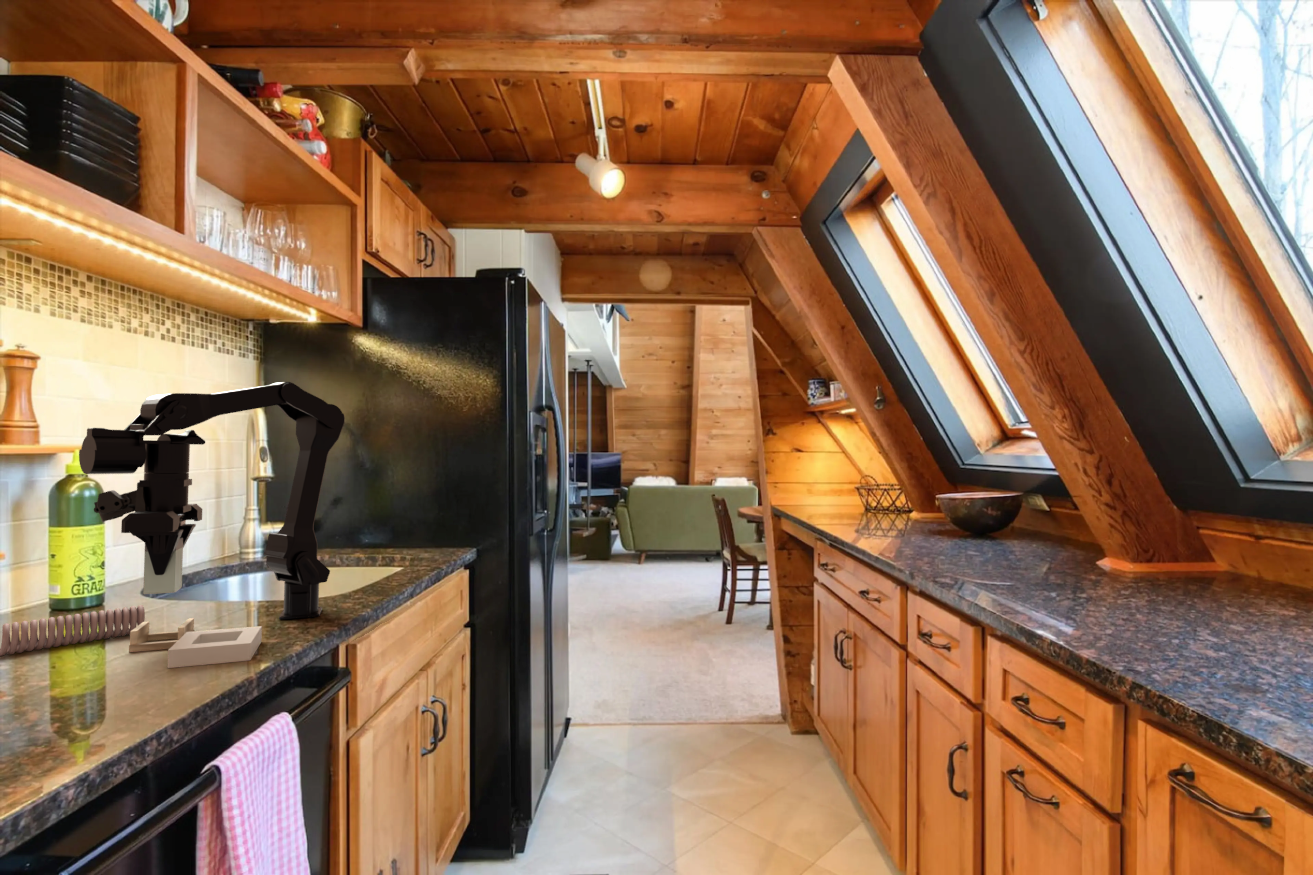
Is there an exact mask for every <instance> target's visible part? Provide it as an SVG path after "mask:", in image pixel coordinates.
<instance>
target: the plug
mask: <svg viewBox="0 0 1313 875" xmlns="http://www.w3.org/2000/svg"><path fill="white" fill-rule="evenodd" d="M183 552H184V548H183V538H180V539H179V541H178V544H177V546H176V548H175V551H174V553H173V555H172V558H171V560H170V562H169V565H168V567H167V569H166V571H165V573H164V574H163V575H155V573H154V570H153V566H152V563H151V560H150V556H149V553H148V550H147V547H146V544H145V543H144V559H143V561H144V562H143V589H142V590H143V591H142V592H143V593H142V594H143V595H156V594H169V593H177V591H179V590H180V589H182V587H183V556H184V555H183V554H184V553H183Z"/></svg>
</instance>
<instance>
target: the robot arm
mask: <svg viewBox="0 0 1313 875" xmlns="http://www.w3.org/2000/svg"><path fill="white" fill-rule="evenodd" d="M272 406H277V408H279V409H280V411H282V413H284V415H285V416H286V417H288V418H289V419H290V420H292V421H293V422H295V436H296V438H297V442H298V445H299V452H298V457H297V461H296V462H297V463H296V467H295V472H294V476H293V480H292V486H291V491H290V495H289V501H288V504H287V509H286V514H285V518H284V519H285V520H284V524H283V525H282V527H281V528H280V529H279V530H278V532H277V533H276V532H275V533H273V532H269V534H268V536H267V546H266V548H265V551H264V552H263V556H266V562H265V563H266V565H267V566H268V568H269V569H270V570H271V571H272V572H273V573H274V576H275V579H276V581H279V582H280V581H281V582H283V583H284V584H283V585H284V587H283V609H282V611H281V613H280V614H279V615H278V619H279V620H289V619H290V620H293V619H302V618H306V619H307V618H316V617H320V615H321V613H322V610H323V606H320V605H319V604H320V603H319V598H320V597H319V595H320V584H323V583H327V581H328V579H329V576H330V574H331V573H330V572H331V570H330V569H329V568H328V567H327V566H326V565H325V564H323V562H321V561H320V560H319V558H318V546H319V545H318V541H317V538H316V537H317V536H316V534H315V530H314V525H315V521H316V517H317V516H316V515H317V510H318V505H319V501H320V497H321V496H320V495H321V490H322V485H323V481H324V476H325V472H326V471H325V470H326V465H327V460H328V456H329V453H330V451H331V449H332V448H333V447H334V446H335V445H336V443H337V442H338V440H339V438H340V437H341V434H342V431H343V428H344V426H345V419H346V418H345V417H346V416H345V413H343V411H342V410H341V408H339V406H337V405H335V404H334V403H333V404H332V403H328V402H326V401H325V400H324V399H322V398H320V397H318V396H316V395H314V394H312V393H310V392H308V391H306V390H304V389H303V388H302V387H300V386H298V385H297V384H295V383H293V382H292V381H280V382H274V383H271V384H267V385H260V386H255V387H254V386H253V387H246V388H241V389H234V390H228V391H227V390H226V391H221V392H214V393H189V392H187V393H185V392H184V393H183V392H181V393H179V392H177V393H175V392H173V393H162V394H154V395H151V396H148V397H147V398H145V400H144V401H143V402H142V403H141V406H140V409H139V410H140V411H139V412H140V413H139V414H138V415H137V416H136V417H135V418H134V419H133V420H132V421H131V422H130V423H129V424H128V425H127V426H126V427H125V429H109V428H105V427H87V429H86V436H85V437H84V439H83V441H82V443H81V449H79V450H78V461H79V465H80V466H79V467H80V469H81V471H82V473H83V474H85V475H111V474H112V475H113V474H115V475H117V474H118V475H119V474H120V475H121V474H135V473H136V472H137V470H138V469H139V468H143V470H144V471H143V479H139V481H137V484H136V489H135V490H131V491H129V492H124V493H122V494H120V493H119V492H117V491H116V490H114V489H113V490H107V491H104V492H102V493H98V494H97V495H98V496H97V500H96V501H95V502H94V503H93V504H94V508H93V512H94V513H96V514H98V515H99V517H100V519H101V522H102V523H104V522H107V521H111V520H115V519H119V518H121V517H123V516H124V515H126V514H127V515H126V516H125V517H124V518H122V519H121V529H120V530H121V531H120V532H121V534H131V535H132V536H133V537H136V538H138V539H139V540H141V541H142V542H144V545H145V544H146V547H147V550H148V553H149V556H150V560H151V563H152V566H153V570H154V573H155V575H163V574H164V573H165V571H166V569H167V567H168V565H169V562H170V560H171V558H172V555H173V553H174V551H175V548H176V546H177V544H178V541H179V539H180V538H183V549H184V547H185V545H186V544H187V541H188V540H189V538H190V536H191V534H192V532H193V531H194V530H195V527H196V526H197V524H196V523H186V521H194V522H199V521H202V520H203V508H202V507H201V506H200V505H198V504H197V503H189V489H190V488H189V487H190V486H192V485H193V479H192V478H190V454H191V453H190V451H191V450H190V448H191V445H201V446H202V445H205V444H206V440H205V439H204V438H202V437H201V436H199V435H198V434H197V432H196V431H195V430H194V429H188V428H191V427H193V426H196V425H198V424H202V423H204V422H207V421H209V420H210V419H213V418H216V417H218V416H223V415H227V414H233V413H239V412H245V411H251V410H256V409H261V408H262V409H263V408H267V407H272ZM184 429H186V430H184ZM171 430H172V431H177V430H178V431H179V430H184V432H183V433H180V434H179V433H167V432H169V431H171ZM145 436H158V438H157V440H152V439H151V440H145V439H144V437H145ZM143 466H144V467H143Z"/></svg>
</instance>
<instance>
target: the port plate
mask: <svg viewBox="0 0 1313 875" xmlns="http://www.w3.org/2000/svg"><path fill="white" fill-rule="evenodd" d="M262 635H263V626H262V625H261V626H260V625H259V626H248V627H247V626H243V627H233V628H232V627H231V628H221V629H207V630H194V631H192V632H186V633H185V634H184V635H183V636H182V637H181V638H180V639H179V640H178V639H177V640H178V641H177V642H176V643H175V644H174V645H173V646H172V647H171V648H170V649H167V669H173V668H185V667H192V666H205V665H215V664H224V663H235V662H245V661H251V660H252V658H253V657H254V655H255V653H256V652H257V650H258V648H259V646H260V645H261V643H262V638H263V637H262Z"/></svg>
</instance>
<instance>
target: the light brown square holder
mask: <svg viewBox="0 0 1313 875" xmlns="http://www.w3.org/2000/svg"><path fill="white" fill-rule="evenodd" d="M192 631H195V618H194V617H192V618H191V617H190V618H187V619H186V620H185V621H184V622H183V623H181V625H179V626H178V628H177V631H164V632H150V621H144V622H142V623H141V624H140V625H136V628H134V629H133V630H132V631H130V635H129V645H128V652H129V653H134V652H135V653H136V652H145V651H146V652H148V651H158V650H169V649H170V648H171V647H172V646H173V645H174V644H175V643H176V642H177V641H178V640H179V639H180V638H181V637H182V636H183V635H184V634H185V633H186V632H192ZM173 639H174V640H173Z"/></svg>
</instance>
